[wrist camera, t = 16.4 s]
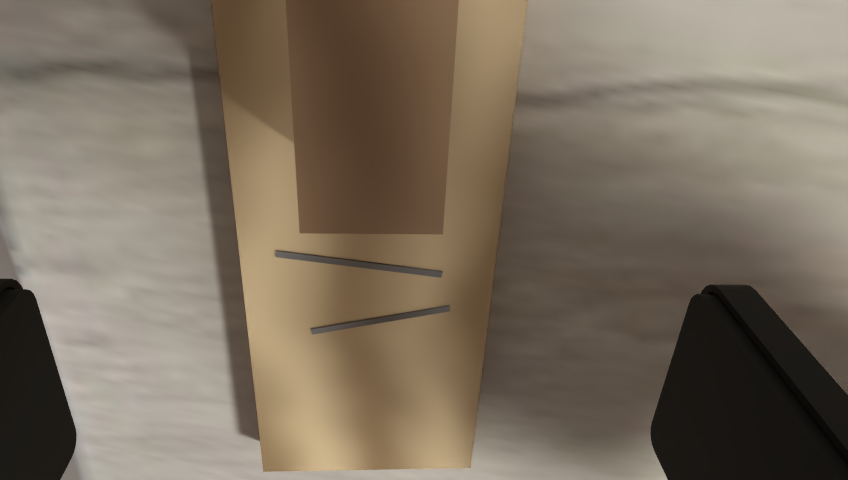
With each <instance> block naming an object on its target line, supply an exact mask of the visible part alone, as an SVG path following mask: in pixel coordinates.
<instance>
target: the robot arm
mask: <svg viewBox="0 0 848 480" xmlns="http://www.w3.org/2000/svg"><path fill="white" fill-rule="evenodd" d="M651 441H652V445H653V448H654V451H655V453H656V455H657V457H658V459H659V462H660V464H661V466H662V468H663V470H664V472H665V474H666V477H667V479H668V480H848V395H847V394H846V393H845V392H844V390H843V389H842V388H841V387H840V386H839V385H838V384H837V383H836V381H835V380H834V379H833V378H832V377H831V376H830V375H829V373H828V372H827V371H826V370H825V369H824V368H823V367H822V365H821V364H820V363H819V362H818V361H817V360H816V359H815V357H814V356H813V355H812V354H811V353H810V352H809V351H808V349H807V348H806V347H805V346H804V345H803V344H802V343H801V341H800V340H799V339H798V338H797V337H796V336H795V335H794V333H793V332H792V331H791V330H790V329H789V328H788V327H787V326H786V324H785V323H784V322H783V321H782V320H781V319H780V318H779V316H778V315H777V314H776V313H775V312H774V311H773V310H772V308H771V307H770V306H769V305H768V304H767V303H766V302H765V300H764V299H763V298H762V297H761V296H760V295H759V294H758V292H757V291H756V290H755V289H753V288H752V287H751V286H748V285H708V286H706V287H705V288H704V289H703V290H702V293H701V294H697V295H694V296H693V297H692V298H691V300H690V303H689V306H688V309H687V312H686V315H685V318H684V322H683V325H682V328H681V331H680V334H679V338H678V341H677V344H676V347H675V350H674V354H673V357H672V360H671V363H670V366H669V370H668V373H667V376H666V379H665V382H664V386H663V389H662V392H661V395H660V398H659V402H658V405H657V408H656V411H655V414H654V418H653V421H652V425H651ZM75 446H76V429H75V425H74V422H73V419H72V416H71V412H70V409H69V406H68V402H67V399H66V396H65V393H64V389H63V386H62V383H61V379H60V376H59V373H58V370H57V366H56V363H55V360H54V356H53V353H52V350H51V347H50V343H49V340H48V337H47V333H46V330H45V327H44V324H43V320H42V317H41V314H40V310H39V307H38V304H37V301H36V298H35V296H34V294H33V293H32V292H31V291H30V290H26V289H23V288H22V286H21V285H20V284H19V283H18V282H17V281H16V280H13V279H0V480H60V479H61V477H62V475H63V473H64V471H65V470H66V468H67V466H68V464H69V462H70V460H71V458H72V455H73V453H74V450H75Z"/></svg>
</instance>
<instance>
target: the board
mask: <svg viewBox="0 0 848 480" xmlns="http://www.w3.org/2000/svg"><path fill="white" fill-rule="evenodd" d="M527 2H528V0H459V5H458V19H457V34H456V49H455V64H454V78H453V93H452V108H451V122H450V137H449V152H448V167H447V181H446V196H445V211H444V225H443V234H312V233H300V232H299V216H298V199H297V182H296V166H295V149H294V132H293V116H292V99H291V82H290V66H289V49H288V32H287V16H286V0H211V6H212V15H213V24H214V33H215V42H216V51H217V60H218V69H219V78H220V87H221V96H222V105H223V114H224V122H225V131H226V140H227V149H228V158H229V167H230V176H231V185H232V194H233V203H234V212H235V221H236V230H237V239H238V248H239V257H240V266H241V275H242V284H243V293H244V302H245V311H246V320H247V329H248V337H249V346H250V355H251V364H252V373H253V382H254V391H255V400H256V409H257V418H258V427H259V436H260V445H261V454H262V463H263V472H266V471H322V470H377V469H433V468H471V460H472V451H473V443H474V435H475V427H476V419H477V411H478V402H479V394H480V386H481V378H482V370H483V362H484V353H485V345H486V337H487V329H488V321H489V313H490V304H491V296H492V288H493V280H494V272H495V264H496V255H497V247H498V239H499V231H500V223H501V215H502V206H503V198H504V190H505V182H506V174H507V166H508V157H509V149H510V141H511V133H512V125H513V117H514V108H515V100H516V92H517V84H518V76H519V68H520V59H521V51H522V43H523V35H524V27H525V19H526V11H527Z"/></svg>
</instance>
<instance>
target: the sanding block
mask: <svg viewBox="0 0 848 480" xmlns="http://www.w3.org/2000/svg"><path fill="white" fill-rule="evenodd" d="M458 5H459V0H286V16H287V32H288V49H289V66H290V82H291V99H292V116H293V132H294V149H295V166H296V182H297V199H298V216H299V232H300V233H312V234H443V225H444V211H445V196H446V181H447V167H448V152H449V137H450V122H451V108H452V93H453V78H454V64H455V49H456V34H457V19H458Z"/></svg>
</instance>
